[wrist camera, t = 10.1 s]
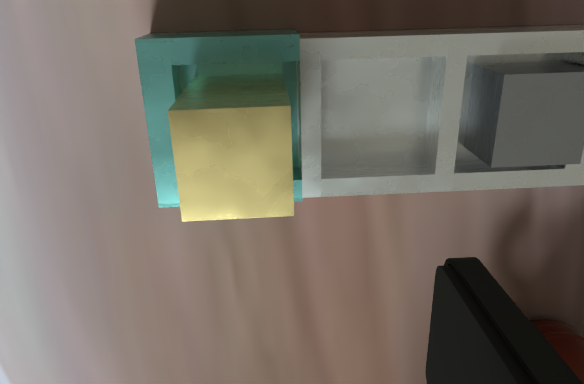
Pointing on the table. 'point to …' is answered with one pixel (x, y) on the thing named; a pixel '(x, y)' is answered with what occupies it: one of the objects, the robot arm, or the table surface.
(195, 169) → the wooden block
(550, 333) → the mug
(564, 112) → the grey hollow block
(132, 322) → the table surface
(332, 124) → the rail
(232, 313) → the table surface
